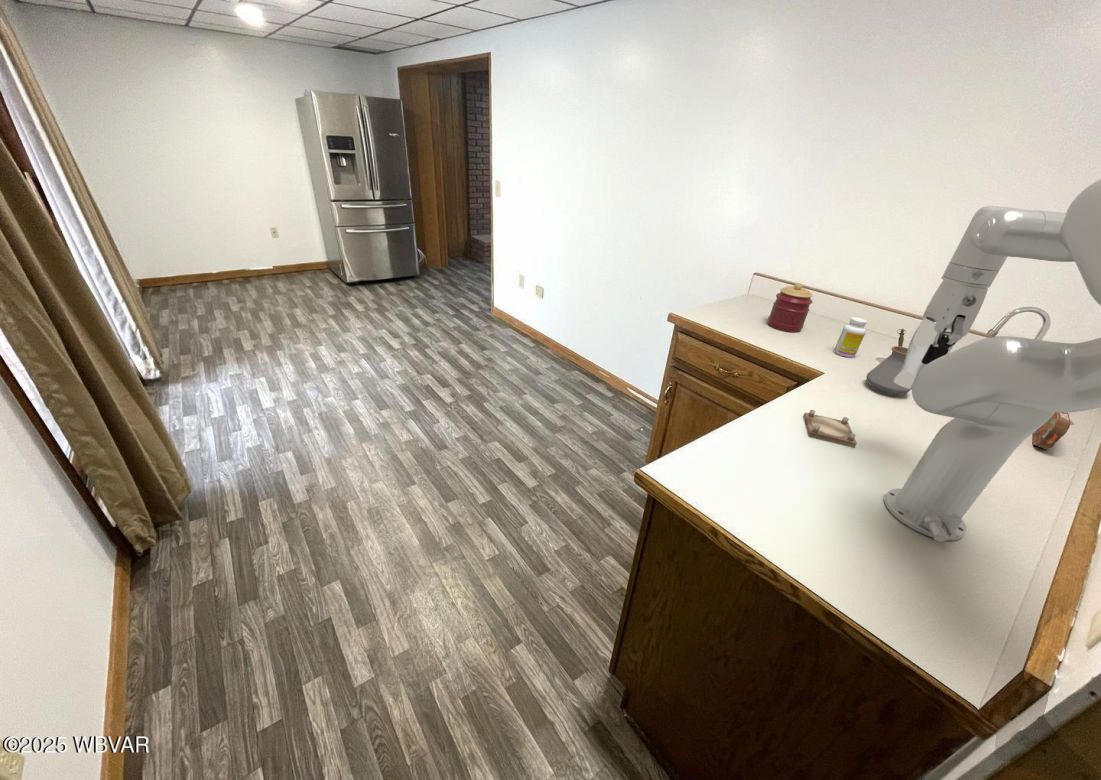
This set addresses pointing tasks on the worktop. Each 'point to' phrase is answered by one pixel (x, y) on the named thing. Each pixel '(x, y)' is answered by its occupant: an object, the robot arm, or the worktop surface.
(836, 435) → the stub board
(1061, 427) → the brown snack package
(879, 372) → the coffee pot
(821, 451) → the worktop surface
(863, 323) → the supplement bottle
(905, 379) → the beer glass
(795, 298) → the canister
